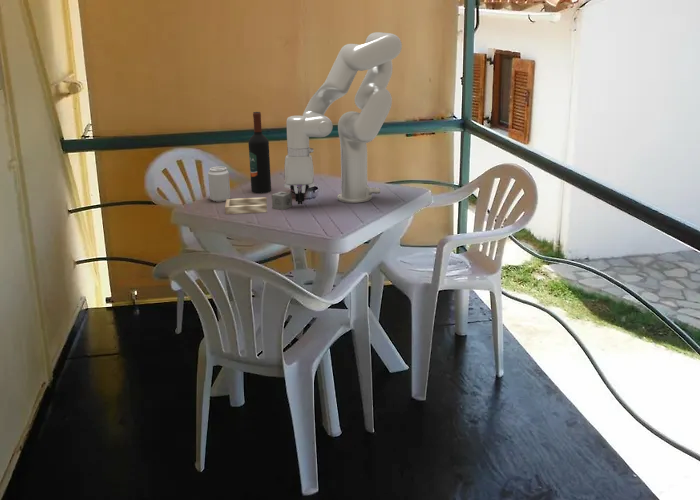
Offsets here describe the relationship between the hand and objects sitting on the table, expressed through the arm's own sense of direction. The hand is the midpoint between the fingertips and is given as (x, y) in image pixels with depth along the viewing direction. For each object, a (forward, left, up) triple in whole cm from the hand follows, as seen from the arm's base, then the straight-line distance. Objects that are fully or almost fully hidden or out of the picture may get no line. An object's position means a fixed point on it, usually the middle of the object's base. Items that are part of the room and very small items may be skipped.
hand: (300, 203), depth 258 cm
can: (+29, -14, -2) cm, 32 cm away
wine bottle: (+14, -24, -1) cm, 28 cm away
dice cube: (+6, 0, -2) cm, 7 cm away
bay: (+19, 0, -1) cm, 19 cm away
